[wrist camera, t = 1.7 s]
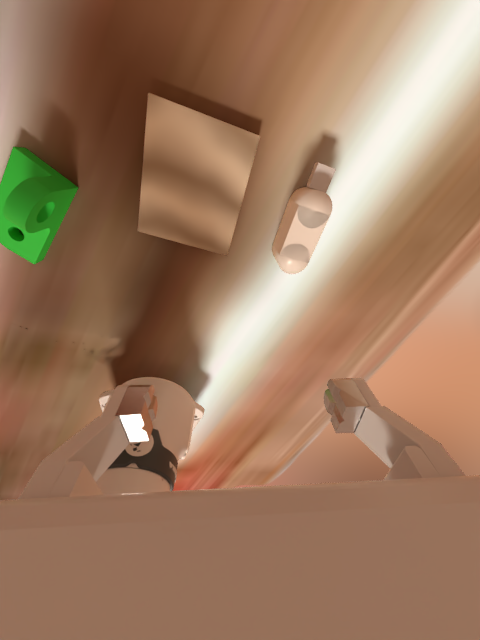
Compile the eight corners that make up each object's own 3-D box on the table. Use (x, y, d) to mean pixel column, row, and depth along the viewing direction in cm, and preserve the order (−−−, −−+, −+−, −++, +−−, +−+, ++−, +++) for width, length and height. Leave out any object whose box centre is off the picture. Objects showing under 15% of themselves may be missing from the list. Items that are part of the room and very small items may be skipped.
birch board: (227, 252, 35) (227, 256, 34) (141, 228, 33) (137, 231, 32) (258, 137, 28) (260, 136, 27) (152, 95, 26) (148, 92, 24)
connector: (292, 264, 37) (301, 277, 32) (268, 257, 36) (273, 269, 32) (332, 171, 30) (349, 172, 26) (303, 160, 30) (316, 159, 25)
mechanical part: (26, 147, 28) (-38, 142, 21) (79, 187, 30) (36, 194, 23) (-5, 230, 32) (-65, 248, 25) (43, 259, 35) (-1, 282, 28)
